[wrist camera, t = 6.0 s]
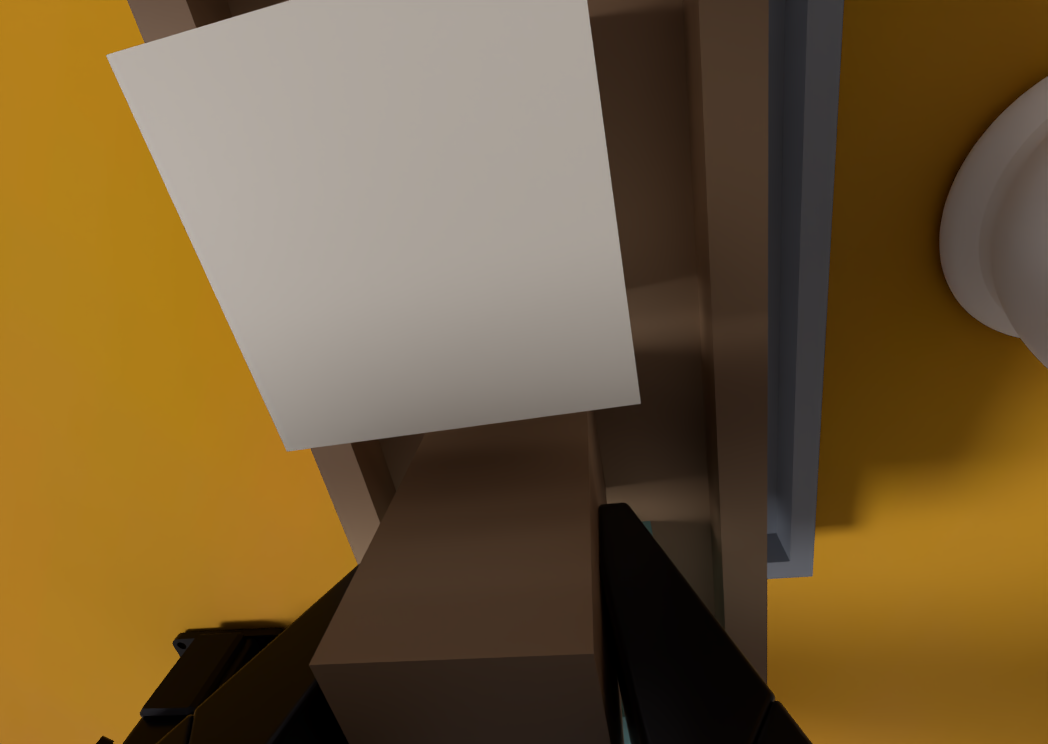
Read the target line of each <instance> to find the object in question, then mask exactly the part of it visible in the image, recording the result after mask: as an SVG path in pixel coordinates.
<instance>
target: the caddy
mask: <svg viewBox="0 0 1048 744" xmlns="http://www.w3.org/2000/svg"><path fill="white" fill-rule="evenodd" d="M127 1H128V3H129V6H130V8H131V10H132V13H133V15H134V18H135V20H136V23H137V25H138V28H139V30H140V32H141V35H142V37H143V40H144V42H145V43H148V42H151V41H155V40H158V39H162V38H165V37H168V36H172V35H175V34H178V33H182V32H185V31H188V30H192V29H195V28H198V27H202V26H205V25H208V24H212V23H215V22H219V21H222V20H225V19H229V18H232V17H235V16H239V15H242V14H245V13H249V12H252V11H255V10H259V9H262V8H265V7H269V6H272V5H276V4H279V3H282V2H286V1H289V0H127ZM587 4H588V12H589V19H590V27H591V34H592V41H593V49H594V56H595V64H596V71H597V79H598V86H599V94H600V101H601V109H602V116H603V124H604V131H605V139H606V146H607V154H608V161H609V169H610V176H611V184H612V191H613V199H614V206H615V214H616V221H617V228H618V236H619V243H620V251H621V258H622V266H623V273H624V281H625V288H626V296H627V303H628V311H629V318H630V326H631V333H632V341H633V348H634V356H635V363H636V371H637V378H638V386H639V393H640V401H641V404H635V405H628V406H620V407H613V408H605V409H598V410H591V411H583V412H576V413H568V414H561V415H553V416H546V417H539V418H531V419H524V420H516V421H509V422H501V423H494V424H487V425H479V426H472V427H464V428H457V429H449V430H442V431H435V432H427V433H420V434H412V435H405V436H397V437H390V438H383V439H375V440H368V441H360V442H353V443H346V444H338V445H331V446H323V447H316V448H311V451H312V453H313V455H314V458H315V460H316V463H317V465H318V468H319V470H320V473H321V475H322V477H323V480H324V482H325V485H326V487H327V490H328V492H329V495H330V497H331V499H332V502H333V504H334V507H335V509H336V512H337V514H338V517H339V519H340V521H341V524H342V526H343V529H344V531H345V534H346V536H347V539H348V541H349V543H350V546H351V548H352V551H353V553H354V556H355V558H356V561H357V563H358V564H359V566H358V568H357V570H356V572H355V574H354V576H353V578H352V580H351V582H350V584H349V586H348V588H347V590H346V592H345V594H344V596H343V598H342V600H341V602H340V604H339V606H338V608H337V610H336V612H335V614H334V616H333V618H332V620H331V622H330V624H329V626H328V628H327V630H326V632H325V634H324V636H323V638H322V640H321V642H320V644H319V646H318V648H317V650H316V652H315V654H314V656H313V658H312V660H311V662H310V664H309V666H310V668H311V670H312V672H313V674H314V676H315V678H316V680H317V682H318V684H319V686H320V688H321V690H322V692H323V694H324V696H325V698H326V700H327V702H328V704H329V706H330V708H331V710H332V711H333V713H334V715H335V717H336V719H337V721H338V723H339V725H340V727H341V729H342V731H343V733H344V735H345V737H346V739H347V741H348V743H349V744H624V734H623V720H622V706H621V694H620V689H619V683H618V678H617V672H616V666H615V660H614V654H613V648H612V642H611V636H610V630H609V624H608V618H607V612H606V606H605V600H604V594H603V588H602V582H601V576H600V568H599V518H598V508H599V506H600V505H601V504H610V503H621V502H623V503H627V504H628V505H629V506H630V507H631V509H632V510H633V511H634V512H635V514H636V515H637V516H638V518H639V519H640V520H641V522H643V521H650V522H651V528H652V533H653V537H654V539H655V540H656V541H657V542H658V544H659V545H660V546H661V548H662V549H663V550H664V552H665V553H666V554H667V555H668V557H669V558H670V559H671V561H672V562H673V563H674V565H675V566H676V567H677V569H678V570H679V571H680V572H681V574H682V575H683V576H684V578H685V579H686V580H687V582H688V583H689V584H690V585H691V587H692V588H693V589H694V591H695V592H696V593H697V595H698V596H699V597H700V599H701V600H702V601H703V602H704V604H705V605H706V606H707V608H708V609H709V610H710V612H711V613H712V614H713V615H714V617H715V618H716V619H717V621H718V622H719V623H720V625H721V626H722V627H723V629H724V630H725V631H726V632H727V634H728V635H729V636H730V638H731V639H732V640H733V642H734V643H735V644H736V645H737V647H738V648H739V649H740V651H741V652H742V653H743V655H744V656H745V657H746V659H747V660H748V661H749V662H750V664H751V665H752V666H753V668H754V669H755V670H756V672H757V673H758V674H759V675H760V677H761V678H762V679H763V681H764V682H765V683H766V685H767V431H768V29H769V0H587Z"/></svg>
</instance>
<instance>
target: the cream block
mask: <svg viewBox="0 0 1048 744" xmlns="http://www.w3.org/2000/svg"><path fill="white" fill-rule="evenodd" d="M106 56H107V58H108V61H109V63H110V65H111V67H112V69H113V72H114V74H115V76H116V78H117V80H118V83H119V85H120V87H121V89H122V91H123V94H124V96H125V98H126V100H127V102H128V104H129V107H130V109H131V111H132V113H133V115H134V118H135V120H136V122H137V124H138V126H139V129H140V131H141V133H142V135H143V137H144V139H145V142H146V144H147V146H148V148H149V150H150V153H151V155H152V157H153V159H154V161H155V164H156V166H157V168H158V170H159V172H160V174H161V177H162V179H163V181H164V183H165V185H166V188H167V190H168V192H169V194H170V196H171V199H172V201H173V203H174V205H175V207H176V209H177V212H178V214H179V216H180V218H181V220H182V223H183V225H184V227H185V229H186V231H187V234H188V236H189V238H190V240H191V242H192V245H193V247H194V249H195V251H196V253H197V255H198V258H199V260H200V262H201V264H202V266H203V269H204V271H205V273H206V275H207V277H208V280H209V282H210V284H211V286H212V288H213V290H214V293H215V295H216V297H217V299H218V301H219V304H220V306H221V308H222V310H223V312H224V315H225V317H226V319H227V321H228V323H229V325H230V328H231V330H232V332H233V334H234V336H235V339H236V341H237V343H238V345H239V347H240V350H241V352H242V354H243V356H244V358H245V360H246V363H247V365H248V367H249V369H250V371H251V374H252V376H253V378H254V380H255V382H256V385H257V387H258V389H259V391H260V393H261V396H262V398H263V400H264V402H265V404H266V406H267V409H268V411H269V413H270V415H271V417H272V420H273V422H274V424H275V426H276V428H277V431H278V433H279V435H280V437H281V439H282V441H283V444H284V446H285V448H286V450H287V451H294V450H301V449H308V448H316V447H323V446H331V445H338V444H346V443H353V442H360V441H368V440H375V439H383V438H390V437H397V436H405V435H412V434H420V433H427V432H435V431H442V430H449V429H457V428H464V427H472V426H479V425H487V424H494V423H501V422H509V421H516V420H524V419H531V418H539V417H546V416H553V415H561V414H568V413H576V412H583V411H591V410H598V409H605V408H613V407H620V406H628V405H635V404H641V401H640V393H639V386H638V378H637V371H636V363H635V356H634V348H633V341H632V333H631V326H630V318H629V311H628V303H627V296H626V288H625V281H624V273H623V266H622V258H621V251H620V243H619V236H618V228H617V221H616V214H615V206H614V199H613V191H612V184H611V176H610V169H609V161H608V154H607V146H606V139H605V131H604V124H603V116H602V109H601V101H600V94H599V86H598V79H597V71H596V64H595V56H594V49H593V41H592V34H591V27H590V19H589V12H588V4H587V0H289V1H286V2H282V3H279V4H276V5H272V6H269V7H265V8H262V9H259V10H255V11H252V12H249V13H245V14H242V15H239V16H235V17H232V18H229V19H225V20H222V21H219V22H215V23H212V24H208V25H205V26H202V27H198V28H195V29H192V30H188V31H185V32H182V33H178V34H175V35H172V36H168V37H165V38H162V39H158V40H155V41H151V42H148V43H145V44H141V45H138V46H135V47H131V48H128V49H125V50H121V51H118V52H115V53H111V54H108V55H106Z"/></svg>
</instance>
